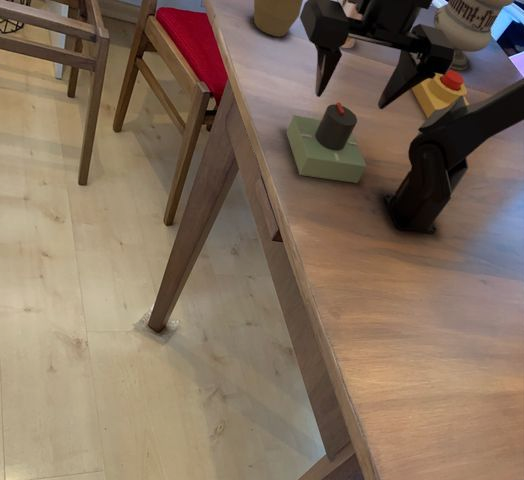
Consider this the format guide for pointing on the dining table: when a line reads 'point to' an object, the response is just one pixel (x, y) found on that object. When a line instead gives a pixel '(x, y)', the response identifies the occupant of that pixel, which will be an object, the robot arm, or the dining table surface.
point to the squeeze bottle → (276, 15)
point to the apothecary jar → (468, 25)
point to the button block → (436, 94)
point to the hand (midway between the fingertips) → (349, 101)
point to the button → (452, 80)
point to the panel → (323, 153)
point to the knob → (336, 127)
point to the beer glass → (351, 13)
